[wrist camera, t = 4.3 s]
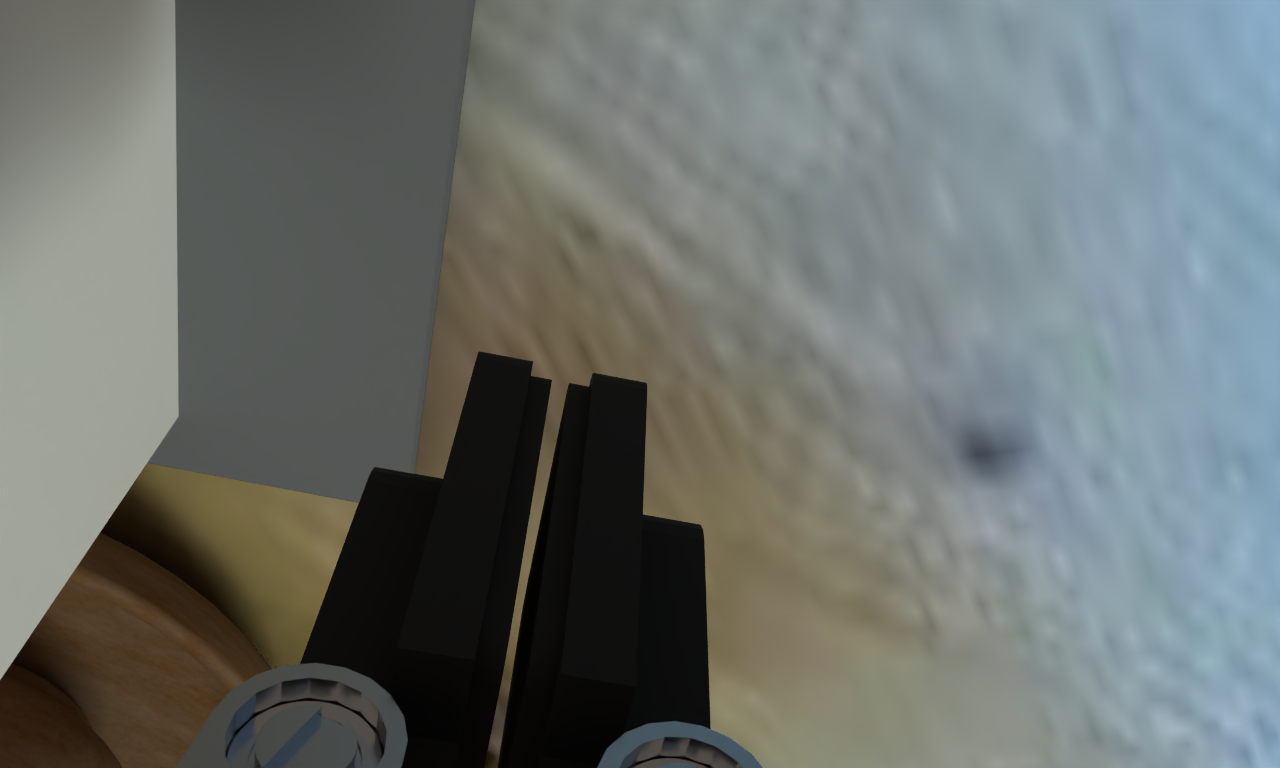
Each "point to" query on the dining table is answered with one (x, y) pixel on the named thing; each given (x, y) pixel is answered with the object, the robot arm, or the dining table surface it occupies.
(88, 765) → the place setting
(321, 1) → the mat
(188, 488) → the dining table surface
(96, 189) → the tile
